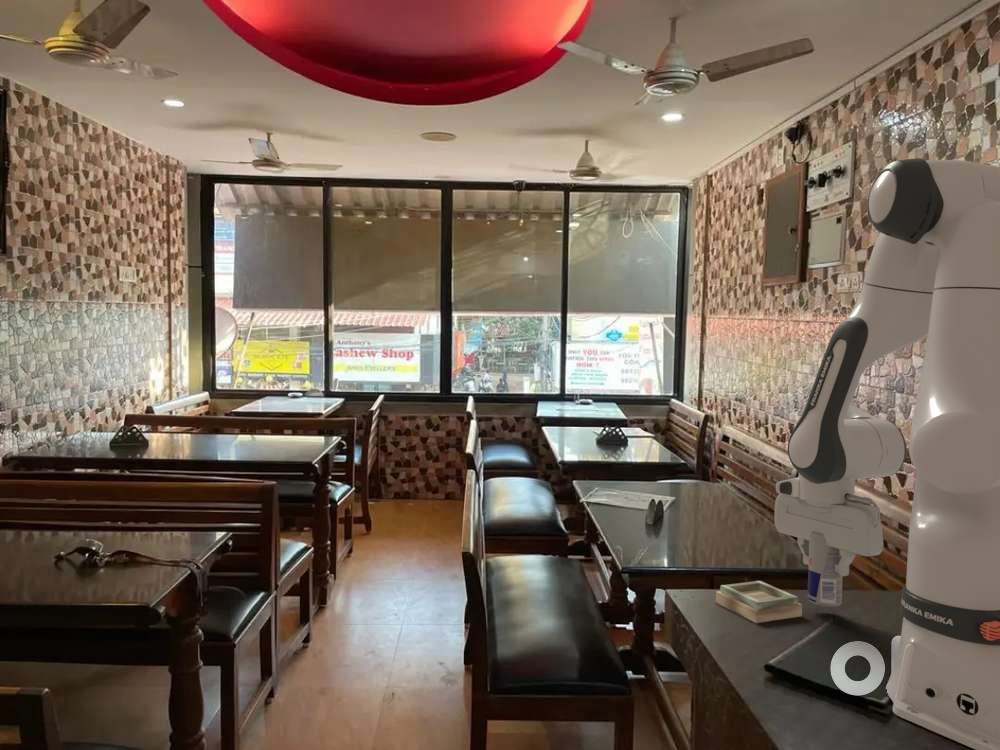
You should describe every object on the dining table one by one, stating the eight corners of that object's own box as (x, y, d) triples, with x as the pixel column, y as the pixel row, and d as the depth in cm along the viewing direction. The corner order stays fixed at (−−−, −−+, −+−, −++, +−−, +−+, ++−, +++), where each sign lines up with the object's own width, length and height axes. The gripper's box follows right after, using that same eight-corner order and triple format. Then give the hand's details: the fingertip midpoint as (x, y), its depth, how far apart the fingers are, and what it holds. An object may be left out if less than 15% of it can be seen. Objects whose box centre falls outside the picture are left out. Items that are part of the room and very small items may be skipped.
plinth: (801, 616, 121) (802, 597, 121) (756, 623, 117) (757, 604, 117) (759, 596, 130) (760, 579, 130) (715, 602, 127) (716, 584, 126)
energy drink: (812, 595, 126) (814, 528, 127) (845, 602, 123) (847, 532, 123) (803, 602, 122) (805, 532, 122) (836, 609, 119) (839, 537, 119)
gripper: (893, 498, 114) (892, 584, 114) (794, 480, 133) (794, 554, 133) (865, 501, 112) (864, 588, 112) (768, 482, 131) (768, 557, 131)
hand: (825, 569), depth 123 cm, fingers closed on energy drink, 5 cm apart
